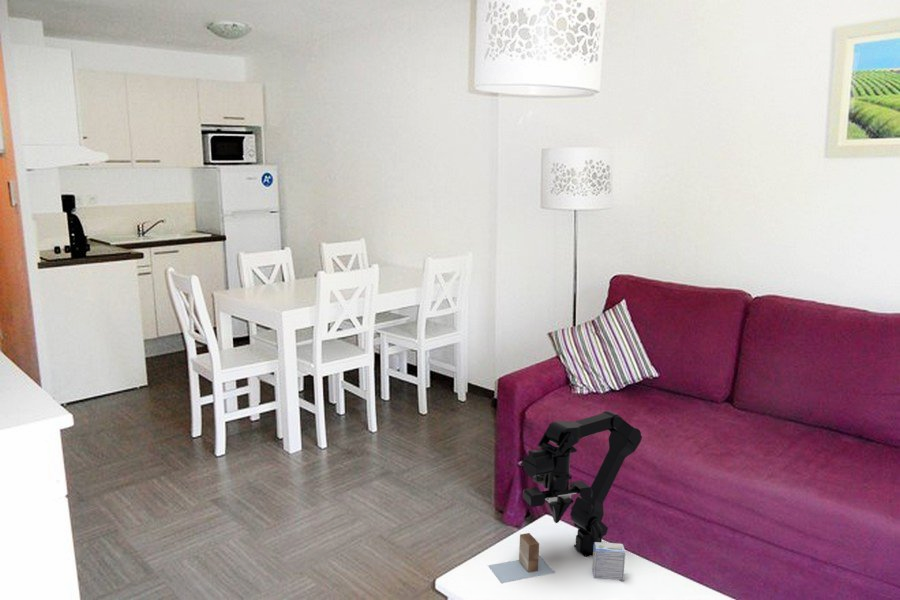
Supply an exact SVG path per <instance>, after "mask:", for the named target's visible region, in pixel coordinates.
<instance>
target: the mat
mask: <svg viewBox="0 0 900 600" xmlns="http://www.w3.org/2000/svg"><path fill="white" fill-rule="evenodd" d="M487 567H488V568H489V569H490V570H491V572H492V573H493V575H494V576H495V577H496V579H497V580H498V581H499V582H500V584H504V583H509V582H515V581H520V580H524V579H525V580H526V579H530V578H535V577H541V576H546V575H550V574H555V573H556V572H555V570H553V568H552V567H551V566H550V565H549V563H547V562H546V560H544V558H543V557H542V556H541V555H539V560H538V571H535V572H530V573H529V572H528V571H527V570H526V569H525V568H524V566H523V565H522V564H521V563H520V562H519V559H517V560H516V559H515V560H509V561H504V562H500V563H498V562H497V563H493V564H488V565H487Z"/></svg>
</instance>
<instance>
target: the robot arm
mask: <svg viewBox="0 0 900 600" xmlns="http://www.w3.org/2000/svg"><path fill="white" fill-rule="evenodd" d="M604 431H608V432H609V433H610V434H609V435H608V451H607V453H606V455H605V457H604V459H603V461H602V463H601V465H600V467H599V469H598V471H597V473H596V475H595V477H594V479H593V481H592V484H591V485H590V486H589V485H588V484H587V483H586V482H585V481H583V480H577V481H571V482H570V480H572V477H573V475H572V474H571V473H570V471H571V470H570V468H571V467H570V466H571V463H570V462H571V454H572V453H577V452H578V449H576V447H574V446H575V445H578V444H579V442H580V440H581V439H583V438H586V437H589V436H592V435H595V434H598V433H602V432H604ZM642 439H643V436H642V433H641V430H640V429H639V428H638V427H635V426H633V425H631V424H630V423H628V422H627V421H626V420H624V418H622V417H621V416H620V415H619V414H617V413H614V412H613V411H609V410H605V411H603V412H602V413H599V414H596V415H591V416H589V417H586V418H582V419H579V420H575V421H574V420H573V421H568V420H557V421H553V422H552V421H551V423H549V424H548V426H547V428H546V430H545V432H544V433H543V435H542V437H541V439H540V440H539V442H538V444H537V447H538V448H539V449H530V450H529V451H528V454H527V455H525V456H524V458H523V460H522V467H523V469H524V472H525V474H526V475H527V476H528V477H530V478H531V479H532V482H534V483H538V485H542V487H543V488H544V489H547V490H542V491H541V490H540V489H539V488H538V487H530V488H529V487H528V488H525V489H523V491H522V499H523V500H524V501H525V502H526V503H527V504H528V505H529V506H530V507H531V508H532V507H533V508H534V507H535V508H537V507H542V506H544V504H545V503H546V505H548V507H549V510H550V512H551V516H552V519H553V522H554V523H555V524H558V523H560V521H561V519H562V517H563V516H564V514H565V512H566V511H567V510H568V509H569V507H570V506H571V504H573V505H572V506H571V508H570V513H569V514H570V519H571V522H572V523H573V526H574V528H577V534H576V535H575V544H574V545H573V547H574V548H575V549H576V551H578V552H579V553H580V554H581V555H582V556H583V557H585V558H588V557H593V550H594V542H602V543H603V541H602V539H603V537H604V536H606V535H607V533H608V531H609V527H608V526H607V525H606V524H605V523H604V522H603V521H602V520H603V517H604V513H605V512H604V502H605V500H606V497H607V495H608V494H609V492H610V490H611V488H612V485H613V483H614V481H615V480H616V478H617V476H618V473H619V471H620V469H621V467H622V465H623V463H624V461H625V460H626V458H627V457H629V456H631V455H632V454H634V453H635V452H636V450H637V448H638V447H639V446H640V444H641V441H642ZM550 442H551V443H552V444H550ZM553 444H554V445H553ZM576 494H579V496H577V497H576V498H575V500H573V499H572V495H576Z"/></svg>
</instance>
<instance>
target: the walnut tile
mask: <svg viewBox="0 0 900 600" xmlns="http://www.w3.org/2000/svg"><path fill="white" fill-rule="evenodd" d="M518 549H519V552H518V560H519V562H520V563H521V564H522V565H523V566H524V568H525V569H526V570H527V571H528V572H529V573H530V572H535V571H538V560H539V556H540V543H539V542H538V541H537V539H536V538H534V536H533V535H532V534H531V533H530V532H528V533H527V532H525V533H520V534H519V546H518Z"/></svg>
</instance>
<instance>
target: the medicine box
mask: <svg viewBox="0 0 900 600" xmlns="http://www.w3.org/2000/svg"><path fill="white" fill-rule="evenodd" d="M625 565H626V549H625V546H624V544H623V543H615V542H603V541H602V542H594V550H593V556H592V568H591V569H592V574H593V579H600V580H602V579H603V580H617V581H621V582H623V581H624V579H625V577H624V576H625Z"/></svg>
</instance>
